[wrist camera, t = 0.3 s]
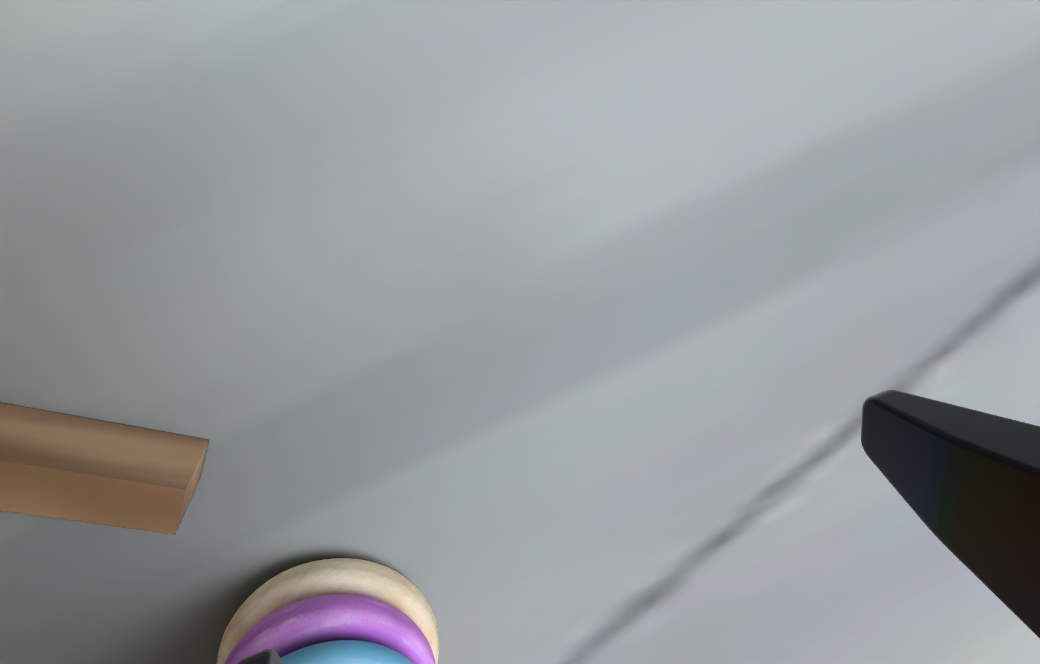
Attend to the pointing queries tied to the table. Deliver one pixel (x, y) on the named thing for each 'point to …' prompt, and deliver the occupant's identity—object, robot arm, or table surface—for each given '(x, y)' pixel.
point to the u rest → (96, 470)
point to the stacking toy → (335, 617)
